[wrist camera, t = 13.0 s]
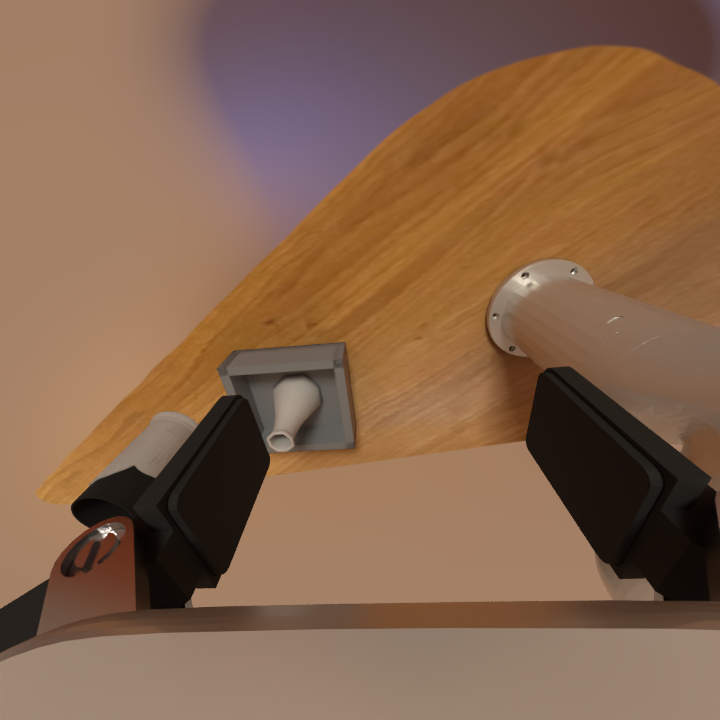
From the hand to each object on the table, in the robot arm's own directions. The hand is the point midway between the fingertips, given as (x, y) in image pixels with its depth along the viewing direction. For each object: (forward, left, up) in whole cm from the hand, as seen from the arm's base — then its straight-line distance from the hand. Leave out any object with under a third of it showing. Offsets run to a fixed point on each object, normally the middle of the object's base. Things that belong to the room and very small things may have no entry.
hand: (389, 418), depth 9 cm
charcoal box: (+13, +17, -28) cm, 35 cm away
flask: (+13, +17, -27) cm, 34 cm away
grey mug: (+34, +26, -28) cm, 51 cm away
